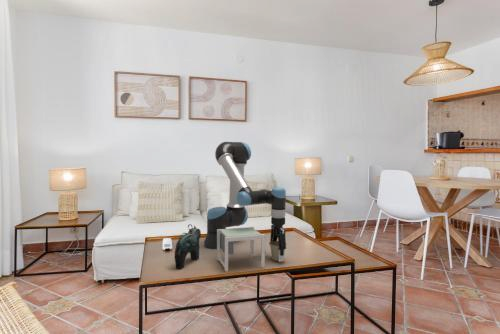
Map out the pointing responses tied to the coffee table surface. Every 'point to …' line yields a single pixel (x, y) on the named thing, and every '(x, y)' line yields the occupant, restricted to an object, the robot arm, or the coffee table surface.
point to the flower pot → (274, 249)
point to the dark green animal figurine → (187, 246)
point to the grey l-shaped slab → (232, 234)
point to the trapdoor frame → (240, 238)
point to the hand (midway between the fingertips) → (277, 258)
